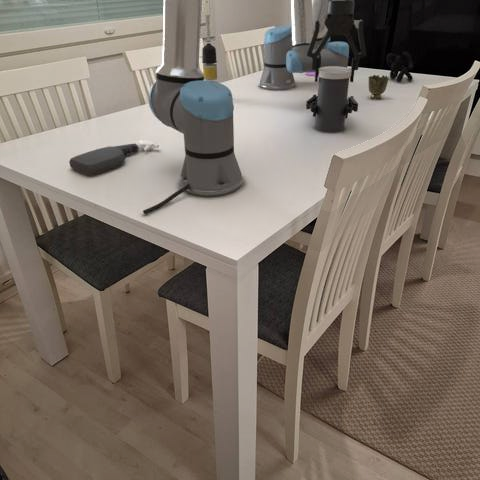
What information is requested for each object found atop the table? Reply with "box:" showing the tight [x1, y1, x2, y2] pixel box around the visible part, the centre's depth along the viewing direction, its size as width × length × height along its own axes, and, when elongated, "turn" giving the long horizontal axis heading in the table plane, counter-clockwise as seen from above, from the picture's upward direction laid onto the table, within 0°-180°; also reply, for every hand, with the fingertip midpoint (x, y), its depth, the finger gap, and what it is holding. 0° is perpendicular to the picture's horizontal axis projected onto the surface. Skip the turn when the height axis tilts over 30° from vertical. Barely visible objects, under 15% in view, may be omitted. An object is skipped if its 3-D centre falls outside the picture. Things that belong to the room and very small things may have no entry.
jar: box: [314, 76, 350, 134], centre depth 141 cm, size 9×9×18 cm
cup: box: [368, 74, 390, 99], centre depth 173 cm, size 8×7×8 cm
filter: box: [201, 14, 218, 82], centre depth 171 cm, size 6×6×30 cm
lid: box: [318, 66, 352, 79], centre depth 136 cm, size 10×10×2 cm
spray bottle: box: [68, 139, 160, 177], centre depth 124 cm, size 3×11×24 cm
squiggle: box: [385, 51, 414, 83], centre depth 198 cm, size 11×10×15 cm
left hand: (333, 81), depth 137 cm, fingers closed on lid, 10 cm apart
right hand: (330, 113), depth 138 cm, fingers closed on jar, 9 cm apart
